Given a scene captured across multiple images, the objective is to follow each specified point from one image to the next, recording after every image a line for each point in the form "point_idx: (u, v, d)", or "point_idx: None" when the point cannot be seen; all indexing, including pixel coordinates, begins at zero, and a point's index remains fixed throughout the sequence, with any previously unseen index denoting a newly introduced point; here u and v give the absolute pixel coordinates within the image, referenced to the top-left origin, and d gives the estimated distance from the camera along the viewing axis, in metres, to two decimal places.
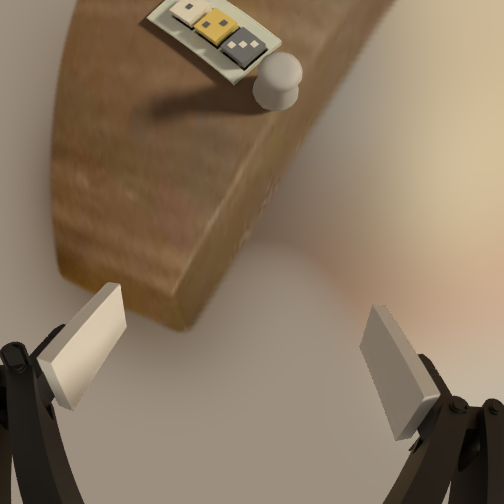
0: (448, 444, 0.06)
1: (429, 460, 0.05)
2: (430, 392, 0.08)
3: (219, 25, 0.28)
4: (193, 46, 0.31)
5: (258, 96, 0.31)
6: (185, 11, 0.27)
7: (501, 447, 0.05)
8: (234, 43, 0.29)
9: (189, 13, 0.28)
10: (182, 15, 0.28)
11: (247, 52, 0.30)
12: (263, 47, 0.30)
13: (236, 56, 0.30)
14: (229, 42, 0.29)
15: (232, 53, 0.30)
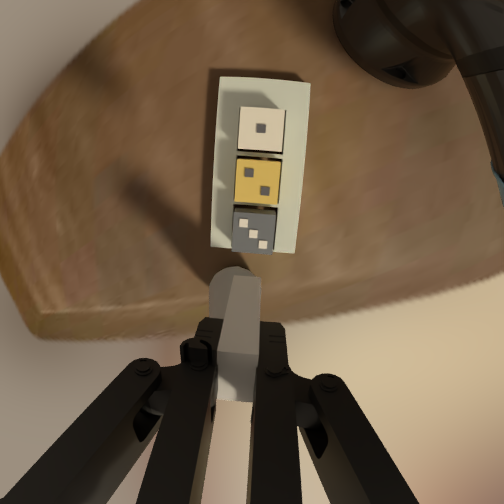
0: (278, 412, 0.08)
1: (262, 435, 0.07)
2: (247, 350, 0.10)
3: (258, 188, 0.27)
4: (218, 170, 0.29)
5: (210, 294, 0.30)
6: (251, 130, 0.25)
7: (355, 427, 0.07)
8: (247, 224, 0.28)
9: (251, 138, 0.25)
10: (242, 132, 0.25)
11: (247, 245, 0.29)
12: None
13: (234, 238, 0.29)
14: (244, 218, 0.28)
15: (234, 232, 0.28)
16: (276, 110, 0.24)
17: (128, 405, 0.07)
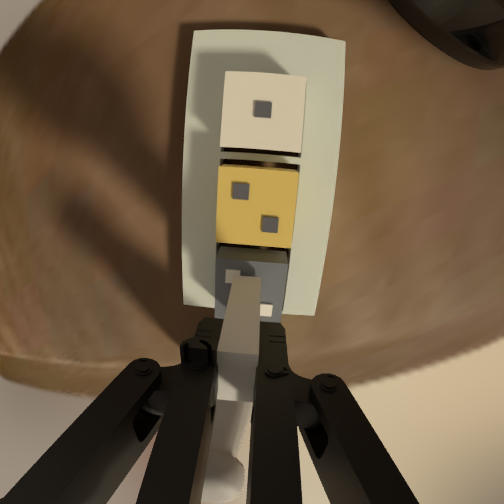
0: (278, 412, 0.08)
1: (262, 435, 0.07)
2: (247, 350, 0.10)
3: (258, 220, 0.15)
4: (190, 184, 0.17)
5: None
6: (244, 113, 0.13)
7: (355, 427, 0.07)
8: None
9: (244, 127, 0.13)
10: (227, 116, 0.13)
11: None
12: None
13: (218, 300, 0.17)
14: (234, 268, 0.16)
15: (218, 290, 0.17)
16: (291, 77, 0.12)
17: (128, 405, 0.07)
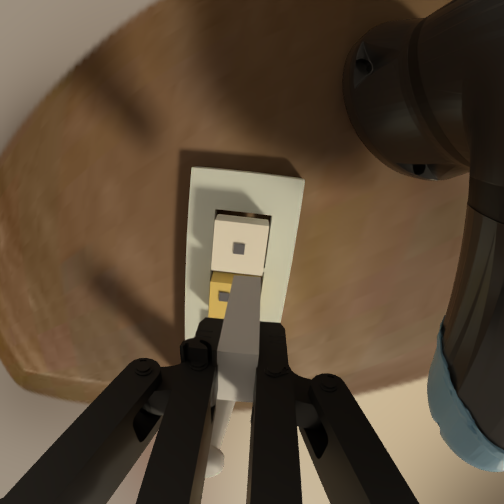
0: (278, 412, 0.08)
1: (262, 435, 0.07)
2: (247, 350, 0.10)
3: None
4: (191, 280, 0.26)
5: None
6: (226, 250, 0.22)
7: (355, 427, 0.07)
8: None
9: (226, 259, 0.22)
10: (216, 251, 0.22)
11: None
12: None
13: None
14: None
15: None
16: (258, 226, 0.21)
17: (128, 405, 0.07)
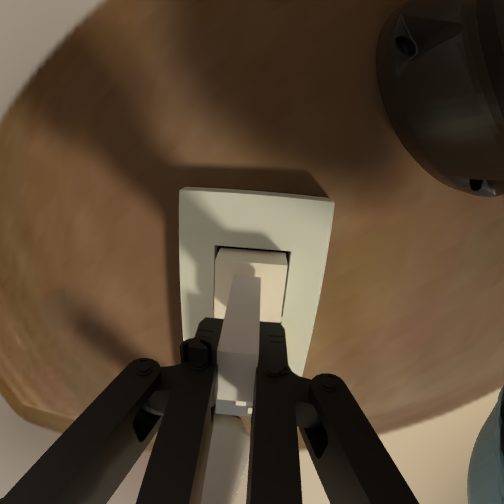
0: (278, 412, 0.08)
1: (262, 435, 0.07)
2: (247, 350, 0.10)
3: None
4: (189, 332, 0.20)
5: None
6: None
7: (354, 427, 0.07)
8: None
9: None
10: (219, 298, 0.17)
11: (234, 410, 0.21)
12: None
13: (218, 404, 0.21)
14: None
15: (217, 399, 0.21)
16: (273, 266, 0.16)
17: (128, 405, 0.07)
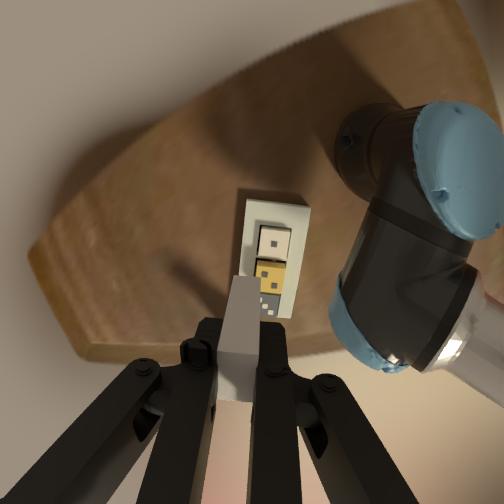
0: (278, 412, 0.08)
1: (262, 435, 0.07)
2: (247, 350, 0.10)
3: (270, 284, 0.42)
4: (243, 266, 0.43)
5: None
6: (267, 245, 0.41)
7: (355, 427, 0.07)
8: (261, 300, 0.44)
9: (267, 249, 0.41)
10: (261, 245, 0.41)
11: (260, 312, 0.45)
12: None
13: None
14: (260, 297, 0.44)
15: None
16: (284, 232, 0.40)
17: (128, 405, 0.07)
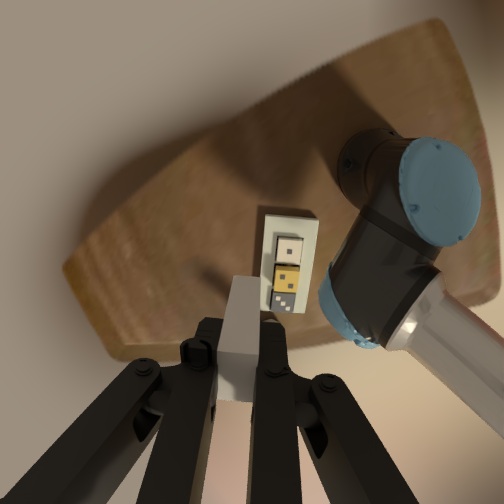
0: (278, 412, 0.08)
1: (262, 435, 0.07)
2: (247, 350, 0.10)
3: (287, 285, 0.50)
4: (263, 270, 0.52)
5: None
6: (284, 252, 0.49)
7: (355, 427, 0.07)
8: (280, 299, 0.52)
9: (284, 256, 0.49)
10: (279, 253, 0.49)
11: (279, 309, 0.53)
12: None
13: (272, 305, 0.53)
14: (278, 295, 0.52)
15: (273, 302, 0.53)
16: (298, 241, 0.48)
17: (128, 405, 0.07)
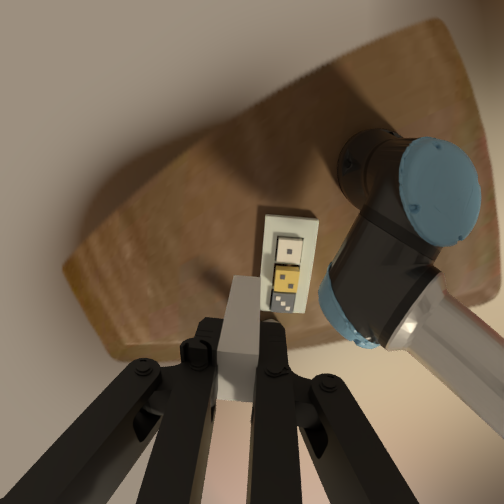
0: (278, 412, 0.08)
1: (262, 435, 0.07)
2: (247, 350, 0.10)
3: (287, 285, 0.50)
4: (263, 270, 0.52)
5: None
6: (284, 252, 0.49)
7: (355, 427, 0.07)
8: (280, 299, 0.52)
9: (284, 256, 0.49)
10: (279, 253, 0.49)
11: (279, 309, 0.53)
12: None
13: (272, 305, 0.53)
14: (278, 295, 0.52)
15: (273, 302, 0.53)
16: (298, 241, 0.48)
17: (128, 405, 0.07)
